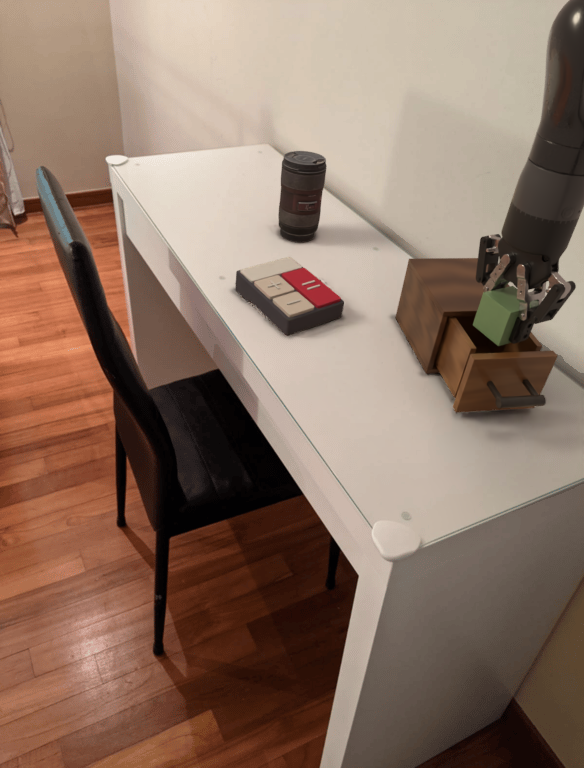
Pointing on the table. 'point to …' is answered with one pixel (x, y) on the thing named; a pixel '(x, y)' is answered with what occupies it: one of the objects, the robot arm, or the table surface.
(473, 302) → the cabinet
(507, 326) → the block
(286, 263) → the calculator
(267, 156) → the table surface
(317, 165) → the camera lens
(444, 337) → the drawer
